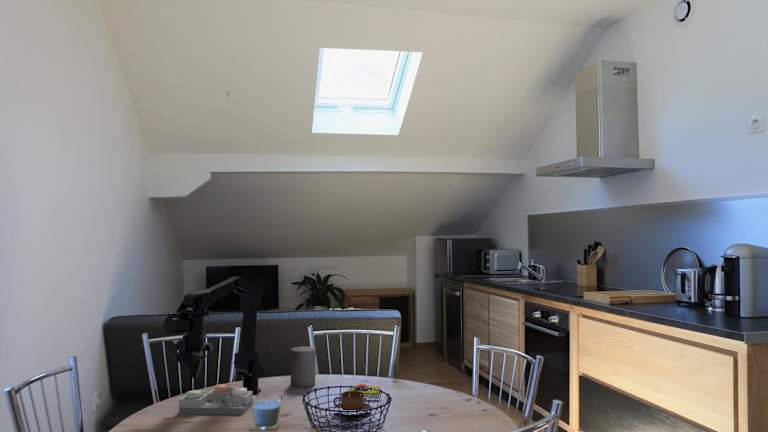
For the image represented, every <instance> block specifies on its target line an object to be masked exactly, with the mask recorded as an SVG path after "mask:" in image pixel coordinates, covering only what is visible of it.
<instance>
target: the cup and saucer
mask: <svg viewBox="0 0 768 432" xmlns="http://www.w3.org/2000/svg"><path fill="white" fill-rule="evenodd" d="M346 391H347V390H346ZM346 391H344V392H342V393H341V394H340V396H336V397H334V398H333V401H332V402H333V405H334V406H333V410H334V409H335V408H336V407H338V406H341V408H342V409H343V410H365V409H369V408H372V406H371V405H370V404H369V403H365V400H364V394H363V393H362V392H359V391H347V392H346ZM349 393H350V397H349ZM360 394H361V396H360ZM337 400H340V403H336V401H337ZM349 400H350V401H349ZM359 401H360V402H359ZM359 414H363V415H365V414H366V413H359ZM351 415H354V414H351Z"/></svg>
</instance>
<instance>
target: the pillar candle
mask: <svg viewBox="0 0 768 432" xmlns="http://www.w3.org/2000/svg"><path fill="white" fill-rule="evenodd" d="M289 383H290V386H291V387H297V388H307V387H312V386H314V385H315V384H316V348H315V347H314V346H296V347H292V348H290V382H289Z"/></svg>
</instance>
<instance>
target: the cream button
mask: <svg viewBox="0 0 768 432" xmlns="http://www.w3.org/2000/svg"><path fill="white" fill-rule="evenodd" d="M233 388H234V389H232V396H246V395H247V388H243V386H242V387H233Z"/></svg>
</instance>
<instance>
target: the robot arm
mask: <svg viewBox="0 0 768 432" xmlns="http://www.w3.org/2000/svg"><path fill="white" fill-rule="evenodd" d="M233 291H234V292H235V293H237V294H238V295H239V301H240V304H241V306H242V309H243V310H242V321H241V322H242V323H241V324H242V326H241V337H240V338H241V341H240V342H241V343H240V348H239V350H238V352H234V354H233V355H234V358H233V359H234V360H233V363H232V364H233V365H234V368H235V370H236V374H237V376H241V377H242V388H247V391H253V395H256V396H257V395H258V394H259V393H260V392H261V391H262V388H259V378H261V377H263V376H264V374H265V368H263V367H262V366H261V365H260V361H259V354H258V352H257V350H256V335H257V334H256V333H257V331H256V330H257V315H258V308H259V307H260V305H261V303H262V301H263V297H264V296H263V294H264V289H263V287H262V286H261V285H259V284H255V283H253V282H251V281H249V280H247V279H245V278H243V277H241V276H230V277H229V278H228V279H225V280H224V281H221V282H220V283H217V284H215V285H212V286H210V287H208V288H206V289H202V290H195V291H190V292H188V293H185V294H184V297H183V300H182V302H181V303H180V305H179V307H178V308H177V310H176V311H175V312H170V313H169V312H168V313H167V317H165V319H164V321H163V323H162V327H163V329H162V330H163V331H164V333H165V334H166V335H167V336H171V335H178V334H183V336H182V338H181V339H179V340H175V339H172V340H169V341H167V345H166V351H169V354H170V355H171V354H174V353H175V352H176V353H175V354H174V356H173V361H174V363H186V364H187V366H188V369H189V371H190V376H191V377H192V379H194V380H195V379H197V377H198V375H199V373H200V371H201V369H202V366H203V364H204V362H205V360H206V358H207V357H208V355H207V354H204V353H203V352H208V353H212V352H213V351H214V345H213V344H212V342H205V337H206V336H207V332H205V317H210V316H211V315H210V313H209V311H207V310H206V308H208V307H210V306H211V304H212V303H213V302H214V301H215V300H217V299H220V298H222V297H223V296H226V295H227V294H229V293H231V292H233ZM184 333H185V334H184Z"/></svg>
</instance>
